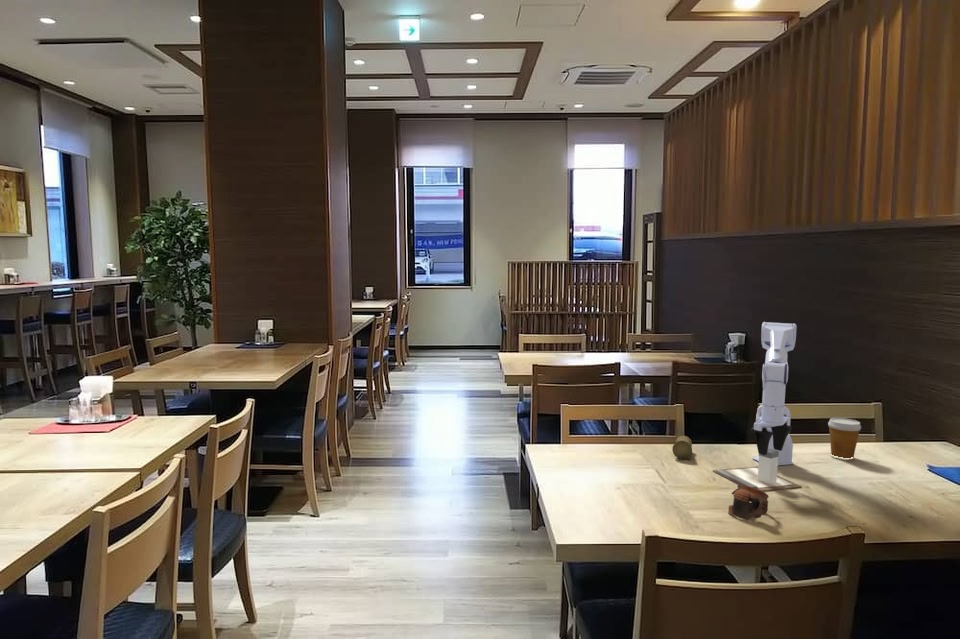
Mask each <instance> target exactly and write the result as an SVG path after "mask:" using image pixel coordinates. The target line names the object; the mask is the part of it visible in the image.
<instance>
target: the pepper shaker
mask: <svg viewBox="0 0 960 639" xmlns="http://www.w3.org/2000/svg"><path fill="white" fill-rule="evenodd" d="M692 442H693V441H692V439H691V438H689V436H686V435H680V436H678V437H677V438H676V439H675V443H673V445H672V454H673V455H674V456H675V457H676V458H677V459H679V460H683V461H684V460H687V459H688V458H690V457H691V456H692V454H693V446H692V445H693V443H692Z"/></svg>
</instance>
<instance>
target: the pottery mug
mask: <svg viewBox="0 0 960 639" xmlns="http://www.w3.org/2000/svg"><path fill="white" fill-rule="evenodd" d="M731 495H732V496H733V502H732V503H733V504H732V505H731V504H730V505H728V514H729V515H732V516H735V517H737V518H740V519H742V520H745V521H747V522H749V519H750V517H751V516H752V517H753V518H754V519H760V518H761V517H762V515H764V514H767V513H768V511H769V501H768V498H769V495H768V494H767V493H766V491H761V490H758V489H756V488H753V487H750V486H745V485H738V484H737V488H736V489H735V490H733V491H732V492H731Z"/></svg>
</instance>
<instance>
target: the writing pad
mask: <svg viewBox="0 0 960 639" xmlns="http://www.w3.org/2000/svg"><path fill="white" fill-rule="evenodd" d="M758 466H759V465H757V466H749V467H747V466H746V467H745V466H744V467H736V468H725V469H713V470H712V472H713V473H715V474H717V475H719V476H721V477H723V479H726V480H728V481H730V482H732V483H734V484H737V486H738V485H745V486H750V487H753V488H756V489H758V490H761V491H763V492H770V491H771V492H772V491H781V490H783V491H784V490H792V489H794V490H795V489H801V488H802V486H801V485H799V484H797V483H795V482H793V481H791V480H788V479H786V478H784V477H782V476H780V475H778V474H777V482H775V483H772V484H767V483H764V482H761V481H758Z"/></svg>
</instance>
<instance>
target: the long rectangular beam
mask: <svg viewBox="0 0 960 639" xmlns="http://www.w3.org/2000/svg"><path fill="white" fill-rule="evenodd" d="M758 455H759V462H758V465H757V466H758V481H761V482H764V483H767V484H772V483H775V482H777V475H778V466H779V465H778V456H779V451H777V450H773V449H769V448H768V451H767V454H766V455H762V454H759V453H758Z"/></svg>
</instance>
